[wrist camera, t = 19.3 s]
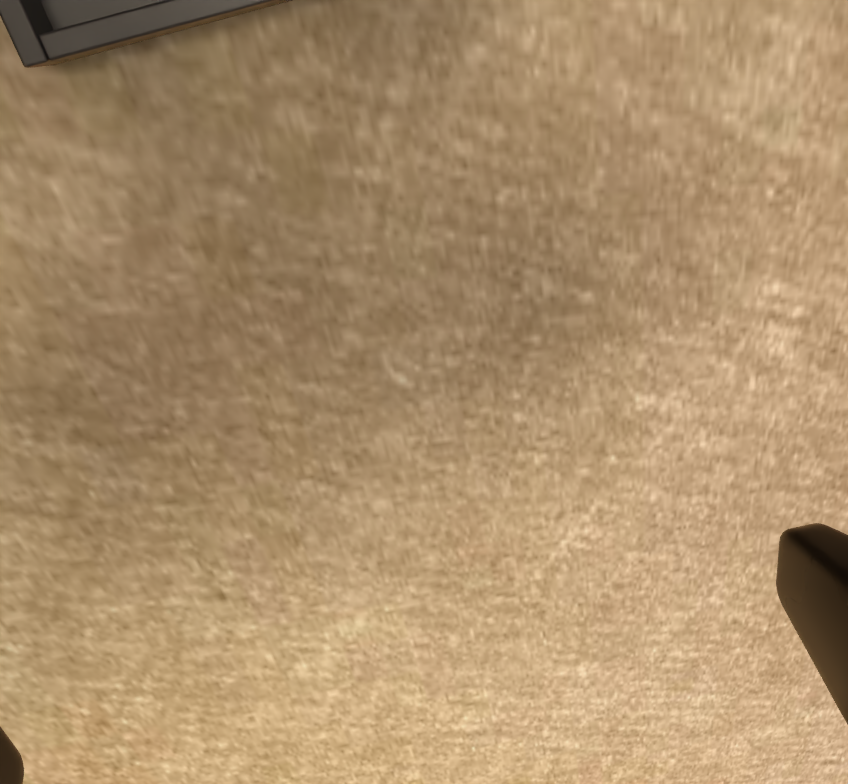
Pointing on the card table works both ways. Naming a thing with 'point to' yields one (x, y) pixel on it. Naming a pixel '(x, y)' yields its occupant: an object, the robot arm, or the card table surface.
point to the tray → (105, 23)
